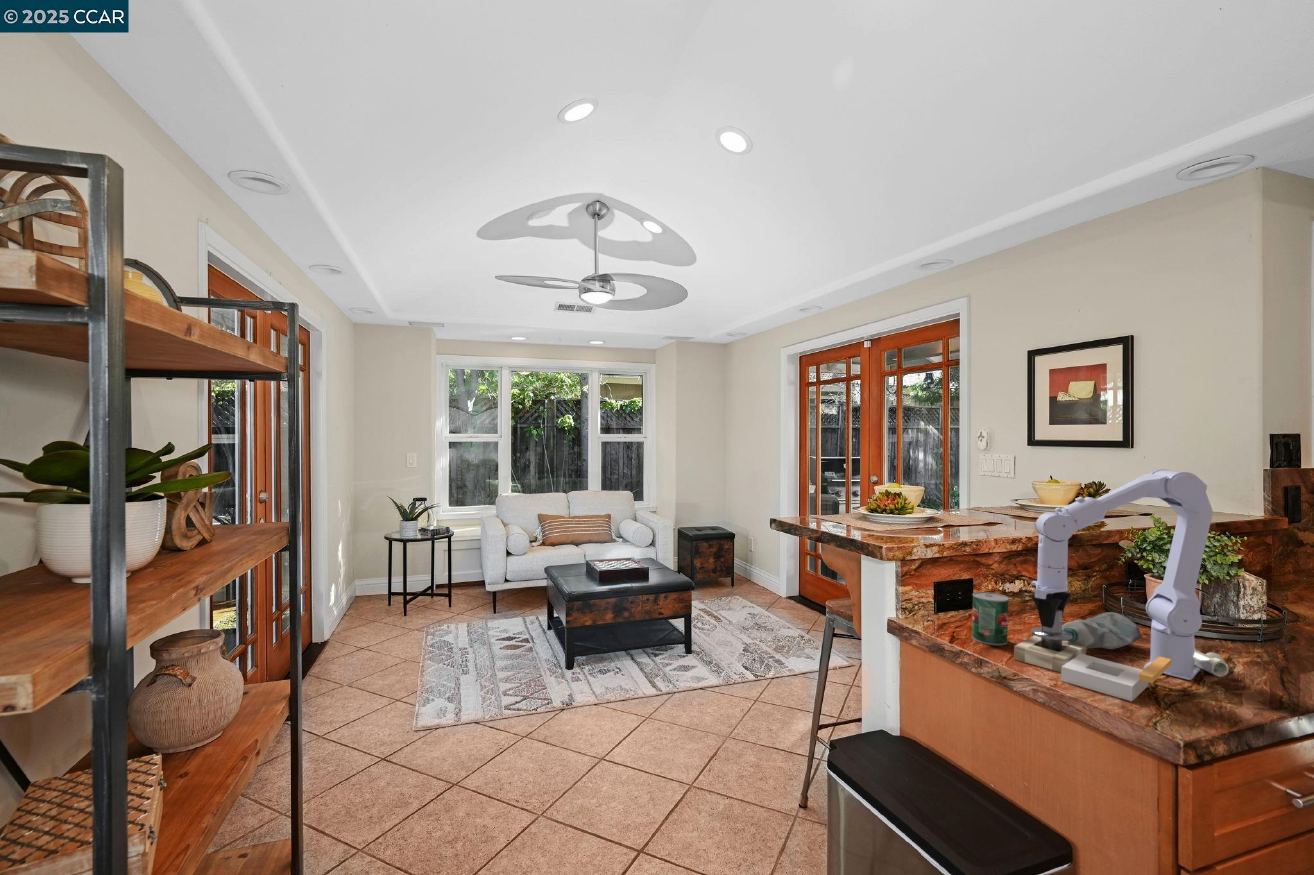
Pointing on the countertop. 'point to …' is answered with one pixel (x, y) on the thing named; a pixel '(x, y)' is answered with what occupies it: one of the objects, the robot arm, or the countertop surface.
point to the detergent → (1103, 631)
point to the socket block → (1104, 676)
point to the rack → (1047, 653)
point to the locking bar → (1155, 669)
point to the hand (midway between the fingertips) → (1050, 624)
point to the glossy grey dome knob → (1053, 634)
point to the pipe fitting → (1211, 663)
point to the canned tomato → (990, 618)
